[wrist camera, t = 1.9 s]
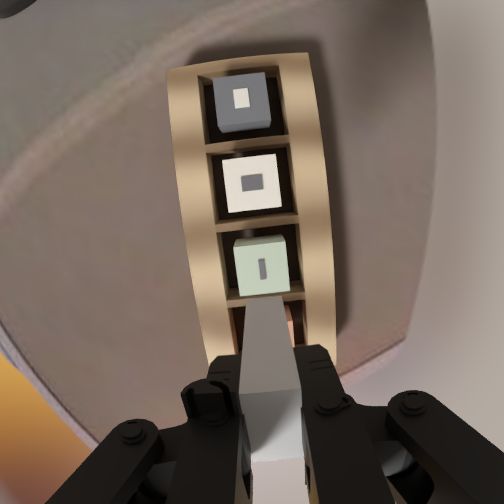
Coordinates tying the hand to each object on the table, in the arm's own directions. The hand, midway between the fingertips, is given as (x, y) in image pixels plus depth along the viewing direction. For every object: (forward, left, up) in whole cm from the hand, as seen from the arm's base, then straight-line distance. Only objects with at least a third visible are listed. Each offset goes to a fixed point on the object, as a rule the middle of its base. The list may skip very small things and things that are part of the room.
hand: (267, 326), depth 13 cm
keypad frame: (-3, 0, -14) cm, 14 cm away
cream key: (-6, 0, -12) cm, 13 cm away
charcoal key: (-12, 0, -12) cm, 17 cm away
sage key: (0, 0, -12) cm, 12 cm away
